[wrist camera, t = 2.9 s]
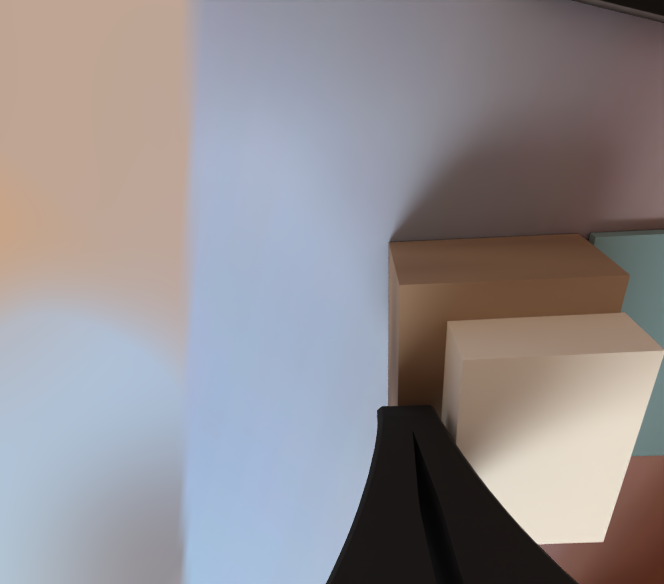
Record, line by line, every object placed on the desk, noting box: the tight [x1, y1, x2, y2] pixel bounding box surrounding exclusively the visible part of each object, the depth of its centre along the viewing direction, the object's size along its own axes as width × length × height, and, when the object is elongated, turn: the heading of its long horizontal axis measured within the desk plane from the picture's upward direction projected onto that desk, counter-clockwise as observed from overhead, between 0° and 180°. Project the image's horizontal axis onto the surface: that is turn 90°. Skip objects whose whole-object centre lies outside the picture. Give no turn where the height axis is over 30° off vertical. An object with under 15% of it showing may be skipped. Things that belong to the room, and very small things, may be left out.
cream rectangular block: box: [441, 312, 664, 544], centre depth 12 cm, size 6×4×2 cm, turn 3°
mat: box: [589, 229, 664, 456], centre depth 14 cm, size 8×5×1 cm, turn 3°
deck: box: [388, 233, 630, 419], centre depth 13 cm, size 8×5×2 cm, turn 3°
